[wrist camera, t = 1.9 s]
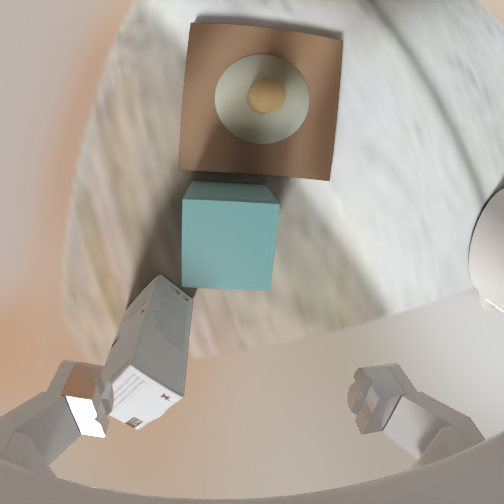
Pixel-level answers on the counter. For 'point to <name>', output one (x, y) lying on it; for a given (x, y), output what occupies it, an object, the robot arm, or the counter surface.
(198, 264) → the teal cube box
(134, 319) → the skincare box
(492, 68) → the counter surface
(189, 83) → the tan plate with disc
